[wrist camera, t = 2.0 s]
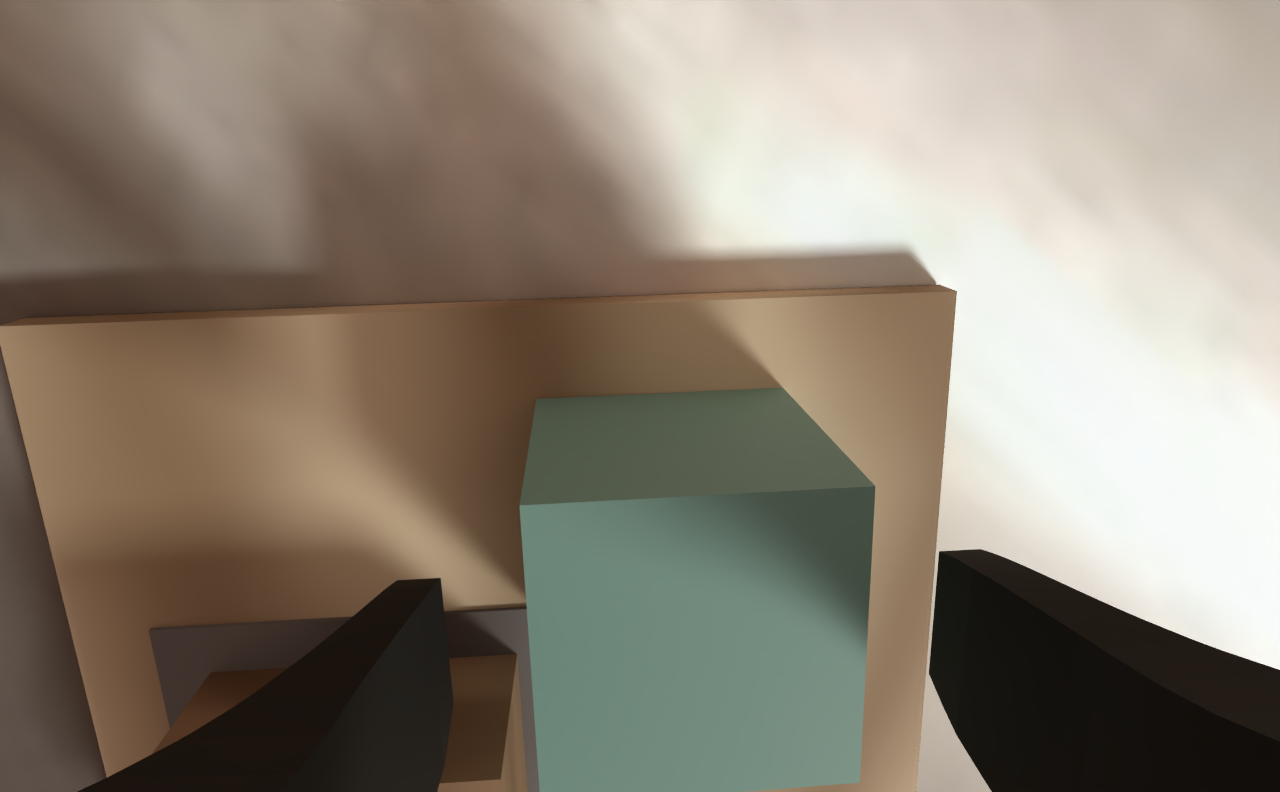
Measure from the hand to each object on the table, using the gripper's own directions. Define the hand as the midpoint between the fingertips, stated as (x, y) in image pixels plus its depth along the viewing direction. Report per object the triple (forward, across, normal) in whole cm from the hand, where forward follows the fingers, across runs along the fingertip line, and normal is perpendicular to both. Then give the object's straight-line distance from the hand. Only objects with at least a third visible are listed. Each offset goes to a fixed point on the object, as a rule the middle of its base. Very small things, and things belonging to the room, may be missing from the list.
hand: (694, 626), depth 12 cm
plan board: (+5, +3, +4) cm, 7 cm away
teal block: (+4, 0, 0) cm, 4 cm away
